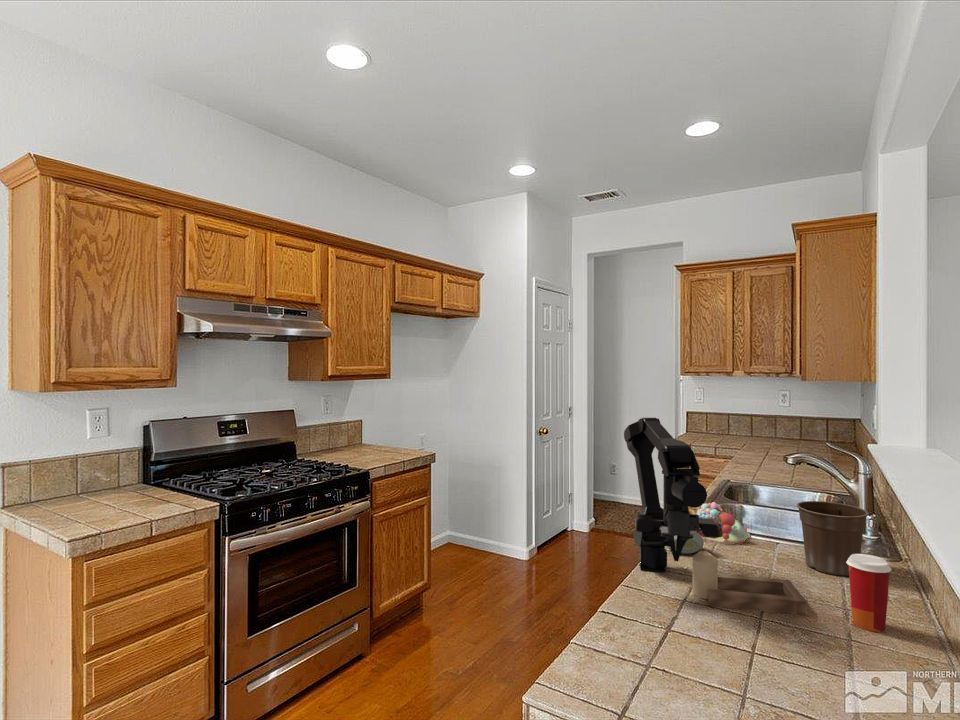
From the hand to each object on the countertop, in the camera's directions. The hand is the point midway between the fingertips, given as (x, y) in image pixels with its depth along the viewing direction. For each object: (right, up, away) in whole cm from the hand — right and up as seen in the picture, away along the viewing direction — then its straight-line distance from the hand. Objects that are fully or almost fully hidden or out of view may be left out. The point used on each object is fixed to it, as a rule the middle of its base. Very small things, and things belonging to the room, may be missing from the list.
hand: (675, 560), depth 131 cm
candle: (+6, -8, -2) cm, 10 cm away
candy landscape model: (+28, -8, +47) cm, 56 cm away
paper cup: (+35, -8, -17) cm, 39 cm away
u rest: (+15, -8, -4) cm, 17 cm away
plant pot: (+47, -8, +15) cm, 50 cm away
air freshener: (+12, -8, +28) cm, 32 cm away
